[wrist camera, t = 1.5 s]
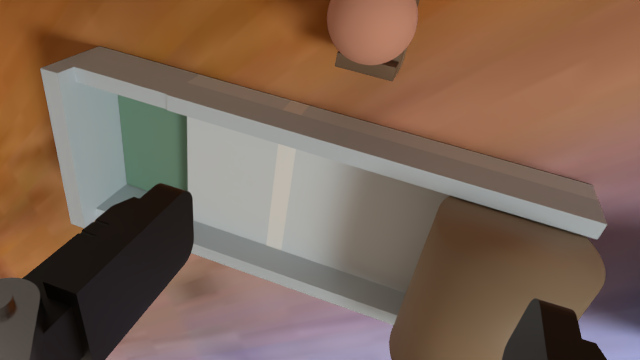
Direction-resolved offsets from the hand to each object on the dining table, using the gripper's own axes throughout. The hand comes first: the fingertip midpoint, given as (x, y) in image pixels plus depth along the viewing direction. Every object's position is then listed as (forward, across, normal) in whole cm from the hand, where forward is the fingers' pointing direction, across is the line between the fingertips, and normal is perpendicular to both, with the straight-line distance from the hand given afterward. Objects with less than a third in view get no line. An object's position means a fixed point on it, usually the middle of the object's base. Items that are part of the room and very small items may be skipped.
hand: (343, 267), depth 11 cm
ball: (+13, +2, -2) cm, 13 cm away
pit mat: (+17, +17, +10) cm, 26 cm away
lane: (+17, +5, +10) cm, 21 cm away
